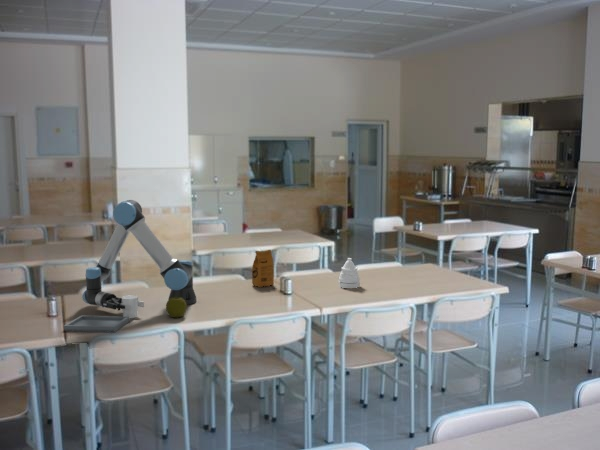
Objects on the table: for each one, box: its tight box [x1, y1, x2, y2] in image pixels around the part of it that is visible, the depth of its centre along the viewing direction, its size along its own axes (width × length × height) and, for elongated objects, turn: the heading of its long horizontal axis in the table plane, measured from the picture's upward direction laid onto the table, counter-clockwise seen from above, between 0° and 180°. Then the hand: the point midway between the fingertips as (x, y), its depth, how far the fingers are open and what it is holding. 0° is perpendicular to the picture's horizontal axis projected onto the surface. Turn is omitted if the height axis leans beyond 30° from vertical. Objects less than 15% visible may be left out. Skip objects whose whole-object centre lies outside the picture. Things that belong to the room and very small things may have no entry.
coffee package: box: [251, 249, 275, 288], centre depth 373 cm, size 10×12×22 cm
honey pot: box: [338, 257, 361, 289], centre depth 370 cm, size 13×13×18 cm
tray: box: [63, 315, 130, 333], centre depth 286 cm, size 24×18×2 cm
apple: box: [165, 297, 188, 318], centre depth 302 cm, size 10×10×11 cm
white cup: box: [121, 294, 139, 319], centre depth 302 cm, size 8×8×10 cm
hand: (136, 306), depth 299 cm, fingers closed on white cup, 8 cm apart
